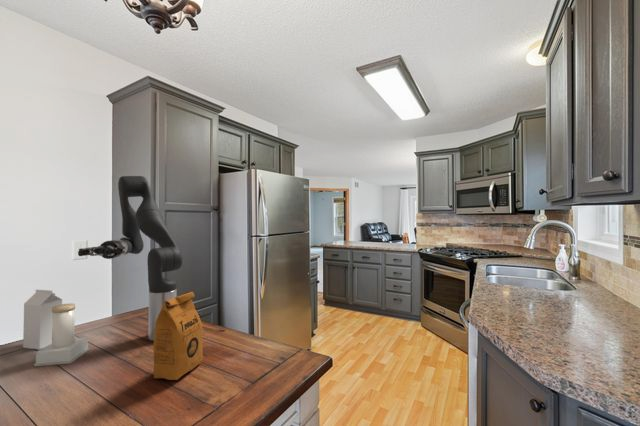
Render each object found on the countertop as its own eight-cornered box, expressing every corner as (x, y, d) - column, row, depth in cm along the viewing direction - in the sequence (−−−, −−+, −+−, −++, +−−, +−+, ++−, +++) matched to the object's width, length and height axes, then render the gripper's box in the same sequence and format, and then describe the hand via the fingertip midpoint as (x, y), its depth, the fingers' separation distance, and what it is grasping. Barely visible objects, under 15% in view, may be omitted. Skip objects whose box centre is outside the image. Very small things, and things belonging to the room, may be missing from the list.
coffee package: (208, 363, 89) (208, 291, 89) (175, 386, 77) (176, 303, 78) (182, 358, 92) (183, 289, 93) (147, 379, 81) (148, 299, 81)
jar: (78, 339, 96) (79, 303, 96) (67, 347, 91) (67, 308, 91) (59, 341, 95) (59, 303, 95) (46, 349, 90) (47, 309, 90)
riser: (88, 349, 98) (89, 337, 99) (70, 363, 89) (71, 350, 89) (55, 351, 97) (56, 339, 97) (33, 366, 87) (34, 352, 87)
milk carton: (39, 350, 98) (40, 293, 98) (22, 348, 99) (23, 292, 99) (61, 341, 105) (62, 288, 105) (46, 339, 106) (47, 287, 106)
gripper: (95, 240, 123) (70, 243, 108) (132, 239, 126) (114, 242, 110) (95, 258, 123) (70, 263, 107) (132, 257, 126) (114, 262, 110)
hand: (92, 253), depth 109 cm, fingers open, 8 cm apart
